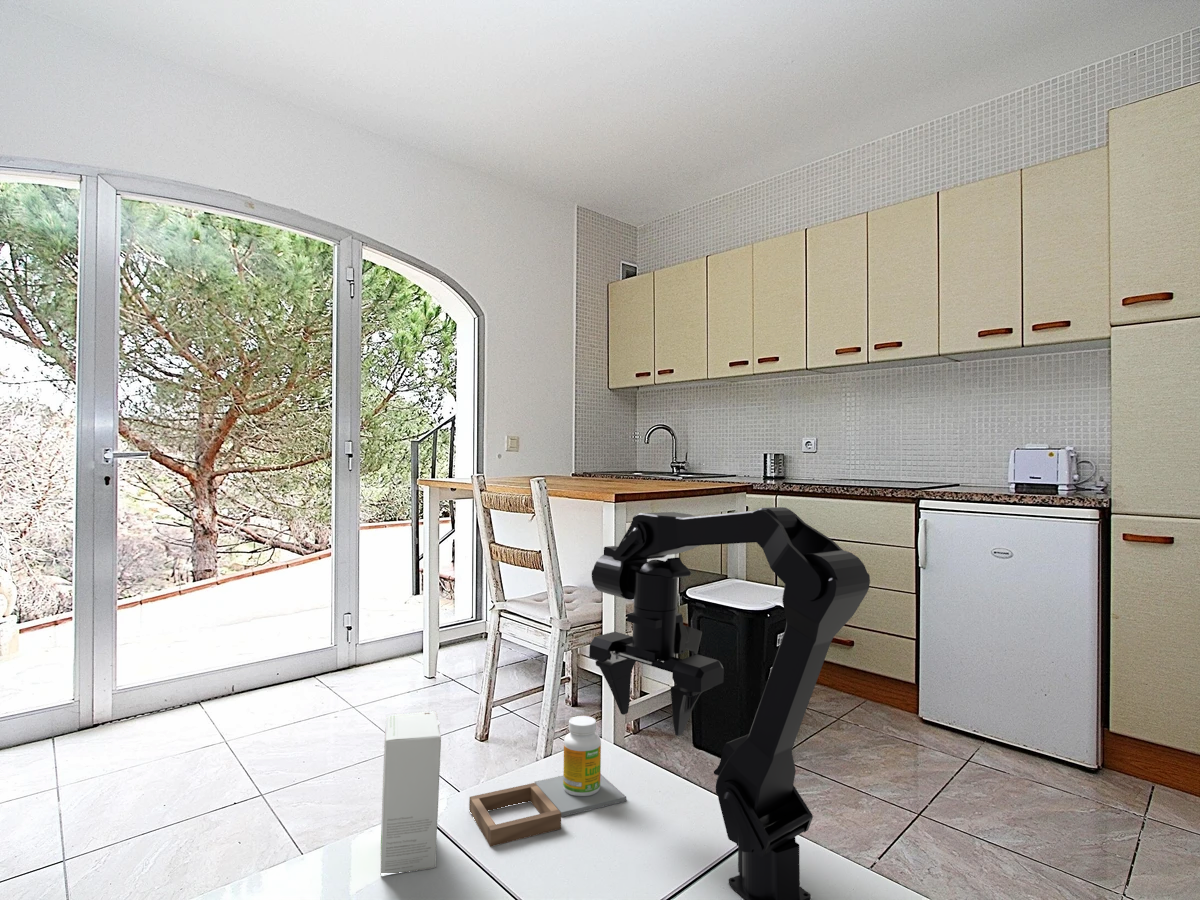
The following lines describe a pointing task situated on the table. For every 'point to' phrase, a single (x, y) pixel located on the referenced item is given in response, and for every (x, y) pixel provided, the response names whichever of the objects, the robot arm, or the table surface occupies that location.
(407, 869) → the skincare box
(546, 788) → the slate pad
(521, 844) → the table surface
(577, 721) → the supplement bottle
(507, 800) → the walnut collar
